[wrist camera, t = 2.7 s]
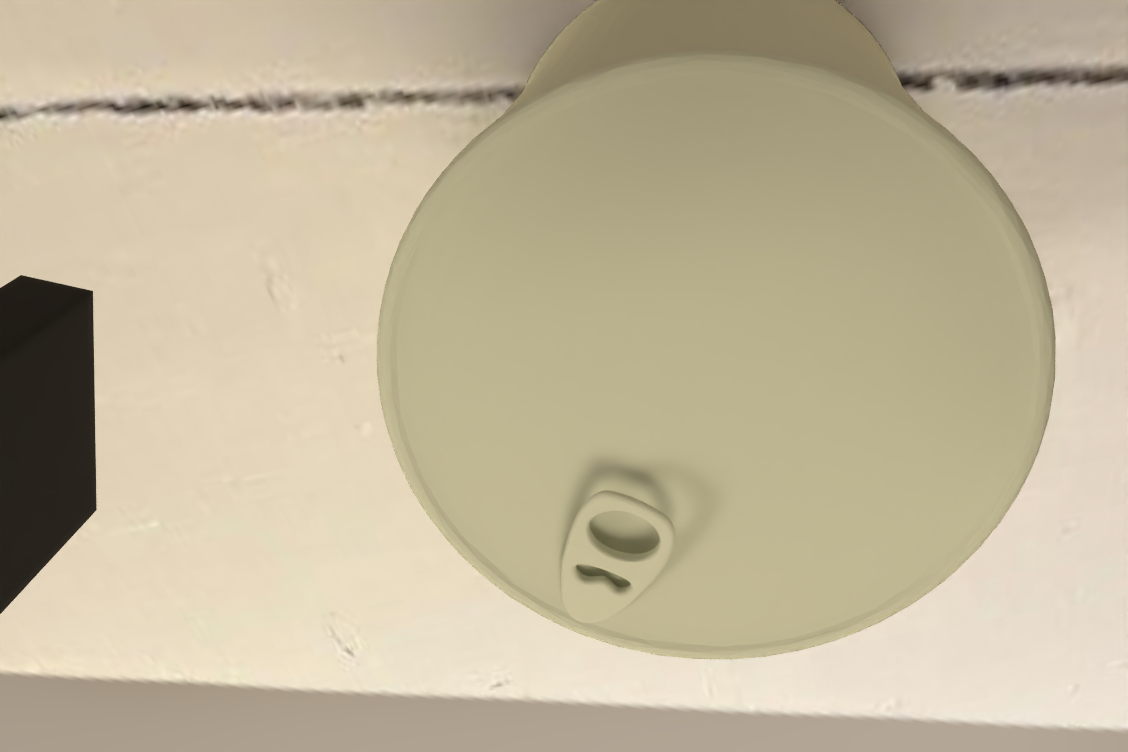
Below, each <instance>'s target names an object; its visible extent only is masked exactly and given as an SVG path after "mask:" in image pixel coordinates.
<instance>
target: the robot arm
mask: <svg viewBox="0 0 1128 752" xmlns="http://www.w3.org/2000/svg"><path fill="white" fill-rule="evenodd" d="M95 511H96V458H95V397H94V336H93V291H90V290H86V289H81V288H76V287H72V286H67V285H63V284H58V283H54V282H49V281H45V280H40V279H36V278H31V277H27V276H22V275H21V276H19V277H17V278H16V279H14V280H13V281H11V282H9V283H8V284H6V285H5V286H3V287H1V288H0V614H1V613H2V612H3V611H4V609H5V608H6V607H7V606H8V605H9V604H10V603H11V602H12V601H13V600H14V599H15V598H16V596H17V595H18V594H19V593H20V592H21V591H22V590H23V589H24V588H25V587H26V586H27V585H28V583H29V582H30V581H31V580H32V579H33V578H34V577H35V576H36V575H37V574H38V573H39V572H40V570H41V569H42V568H43V567H44V566H45V565H46V564H47V563H48V562H49V561H50V560H51V559H52V558H53V556H54V555H55V554H56V553H57V552H58V551H59V550H60V549H61V548H62V547H63V546H64V545H65V543H66V542H67V541H68V540H69V539H70V538H71V537H72V536H73V535H74V534H75V533H76V532H77V530H78V529H79V528H80V527H81V526H82V525H83V524H84V523H85V522H86V521H87V520H88V519H89V517H90V516H91V515H92V514H93V513H94V512H95Z"/></svg>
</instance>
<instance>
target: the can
mask: <svg viewBox="0 0 1128 752" xmlns="http://www.w3.org/2000/svg"><path fill="white" fill-rule="evenodd" d="M377 374H378V383H379V391H380V399H381V405H382V410H383V414H384V419H385V423H386V426H387V429H388V433H389V436H390V439H391V442H392V445H393V448H394V451H395V454H396V456H397V459H398V461H399V464H400V466H401V468H402V470H403V472H404V474H405V477H406V479H407V481H408V483H409V485H410V487H411V489H412V490H413V492H414V494H415V496H416V497H417V499H418V500H419V502H420V504H421V505H422V507H423V508H424V510H425V511H426V513H427V514H428V516H429V517H430V519H431V520H432V522H433V523H434V524H435V525H436V527H437V528H438V529H439V530H440V532H441V533H442V534H443V535H444V537H445V538H446V539H447V540H448V542H449V543H450V544H451V545H452V546H453V547H454V548H455V549H456V550H457V552H458V553H459V554H460V555H461V556H462V557H463V558H464V559H465V560H466V561H468V562H469V563H470V564H471V565H472V566H473V567H474V568H475V569H476V570H477V571H479V572H480V573H481V574H482V575H483V576H484V577H486V578H487V579H488V580H489V581H490V582H492V583H493V584H494V585H495V586H497V587H498V588H499V589H501V590H502V591H503V592H504V593H506V594H507V595H509V596H510V597H512V598H513V599H515V600H517V601H518V602H520V603H522V604H523V605H525V606H526V607H528V608H530V609H531V610H533V611H534V612H536V613H538V614H540V615H541V616H543V617H545V618H547V619H549V620H551V621H553V622H555V623H557V624H559V625H560V626H563V627H565V628H568V629H570V630H572V631H575V632H577V633H580V634H582V635H585V636H588V637H591V638H594V639H597V640H600V641H603V642H606V643H609V644H613V645H616V646H619V647H623V648H628V649H633V650H637V651H642V652H647V653H651V654H656V655H662V656H672V657H682V658H692V659H740V658H753V657H765V656H771V655H776V654H782V653H787V652H793V651H798V650H803V649H806V648H810V647H814V646H817V645H821V644H824V643H828V642H831V641H834V640H837V639H840V638H842V637H845V636H848V635H850V634H853V633H856V632H858V631H861V630H863V629H865V628H867V627H870V626H872V625H874V624H876V623H879V622H881V621H883V620H884V619H886V618H888V617H890V616H892V615H893V614H895V613H897V612H899V611H901V610H902V609H904V608H906V607H908V606H910V605H911V604H913V603H914V602H916V601H917V600H919V599H920V598H921V597H923V596H924V595H926V594H927V593H929V592H930V591H931V590H933V589H934V588H935V587H937V586H938V585H939V584H941V583H942V582H944V581H945V580H946V579H947V578H948V577H949V576H950V575H952V574H953V573H954V572H955V571H956V570H957V569H958V568H959V567H960V566H961V565H962V564H963V563H964V562H965V561H966V560H967V559H968V558H969V557H970V556H971V555H972V554H973V553H974V552H976V551H977V550H978V548H979V547H980V546H981V545H982V544H983V542H984V541H985V540H986V539H987V538H988V536H989V535H990V534H991V533H992V531H993V530H994V529H995V528H996V527H997V525H998V524H999V523H1000V522H1001V520H1002V519H1003V517H1004V516H1005V514H1006V512H1007V511H1008V509H1009V508H1010V506H1011V505H1012V503H1013V502H1014V500H1015V499H1016V497H1017V496H1018V494H1019V492H1020V490H1021V488H1022V486H1023V484H1024V482H1025V480H1026V478H1027V476H1028V474H1029V472H1030V470H1031V468H1032V466H1033V463H1034V461H1035V458H1036V456H1037V454H1038V451H1039V448H1040V445H1041V441H1042V438H1043V435H1044V431H1045V428H1046V425H1047V422H1048V418H1049V413H1050V407H1051V400H1052V394H1053V387H1054V380H1055V329H1054V320H1053V310H1052V305H1051V301H1050V297H1049V292H1048V288H1047V284H1046V280H1045V276H1044V273H1043V270H1042V267H1041V264H1040V261H1039V258H1038V255H1037V253H1036V250H1035V248H1034V245H1033V243H1032V240H1031V238H1030V235H1029V233H1028V231H1027V229H1026V227H1025V225H1024V223H1023V221H1022V220H1021V218H1020V216H1019V215H1018V213H1017V211H1016V210H1015V208H1014V206H1013V205H1012V203H1011V201H1010V200H1009V198H1008V197H1007V195H1006V194H1005V192H1004V191H1003V190H1002V188H1001V187H1000V185H999V184H998V183H997V181H996V180H995V178H994V177H993V176H992V174H991V173H990V172H989V171H988V170H987V169H986V168H985V166H984V165H983V164H982V163H981V162H980V161H979V160H978V159H977V157H976V156H975V155H974V154H973V153H972V152H971V151H970V150H969V149H968V148H967V147H965V146H964V145H963V144H962V143H961V142H960V141H959V140H958V139H957V138H956V137H955V136H954V135H953V134H952V133H950V132H949V131H948V130H947V129H946V128H944V127H943V126H942V125H941V124H939V123H938V122H937V121H935V120H934V119H933V118H932V117H930V116H929V115H928V114H926V113H925V112H924V111H923V110H922V109H921V108H920V107H919V106H918V105H917V104H916V102H915V101H914V100H913V99H912V98H911V96H910V95H909V94H908V93H907V92H906V91H905V89H904V88H903V87H902V86H901V83H900V80H899V78H898V76H897V74H896V72H895V70H894V68H893V66H892V64H891V63H890V61H889V59H888V58H887V56H886V54H885V53H884V51H883V50H882V48H881V47H880V45H879V44H878V43H877V41H876V40H875V39H874V37H873V36H872V35H871V34H870V33H869V31H868V30H867V29H866V28H865V27H864V26H863V25H862V24H861V23H860V22H859V21H858V20H857V19H856V18H855V17H854V16H853V15H852V14H851V13H850V12H848V11H847V10H846V9H845V8H844V7H842V6H841V5H840V4H839V3H837V2H836V1H834V0H598V1H596V2H595V3H593V4H592V5H591V6H589V7H588V8H587V9H585V10H584V11H583V12H582V13H581V14H579V15H578V16H577V17H576V18H575V19H574V20H573V21H572V22H571V23H570V24H569V25H568V26H567V27H566V28H565V29H564V30H563V31H562V32H561V33H560V34H559V35H558V36H557V37H556V39H555V40H554V41H553V42H552V44H551V45H550V46H549V48H548V49H547V50H546V52H545V53H544V54H543V56H542V57H541V59H540V61H539V62H538V64H537V65H536V67H535V69H534V71H533V73H532V74H531V76H530V78H529V80H528V82H527V84H526V87H525V89H524V91H523V92H522V93H521V95H520V96H519V97H518V98H517V99H516V101H515V102H514V103H513V104H512V105H511V106H510V107H509V108H508V110H507V111H506V112H505V113H504V114H503V115H502V116H501V117H500V118H499V119H497V120H496V121H495V122H494V123H492V124H491V125H490V126H489V127H488V128H486V129H485V130H484V131H483V132H481V133H480V134H479V135H478V136H477V137H475V138H474V139H473V140H472V141H471V142H470V143H469V144H468V145H467V146H466V147H465V148H464V149H463V150H462V151H461V152H460V153H459V154H458V155H457V156H456V157H455V158H454V160H453V161H452V162H451V163H450V164H449V165H448V167H447V168H446V169H445V170H444V171H443V172H442V173H441V175H440V176H439V177H438V179H437V180H436V181H435V183H434V184H433V185H432V187H431V188H430V189H429V191H428V192H427V194H426V195H425V197H424V199H423V200H422V202H421V203H420V205H419V206H418V208H417V209H416V211H415V213H414V215H413V217H412V219H411V221H410V223H409V225H408V227H407V229H406V231H405V233H404V235H403V237H402V239H401V241H400V243H399V246H398V248H397V251H396V254H395V256H394V259H393V261H392V264H391V267H390V271H389V274H388V278H387V281H386V285H385V289H384V294H383V299H382V305H381V310H380V317H379V327H378V337H377Z"/></svg>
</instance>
